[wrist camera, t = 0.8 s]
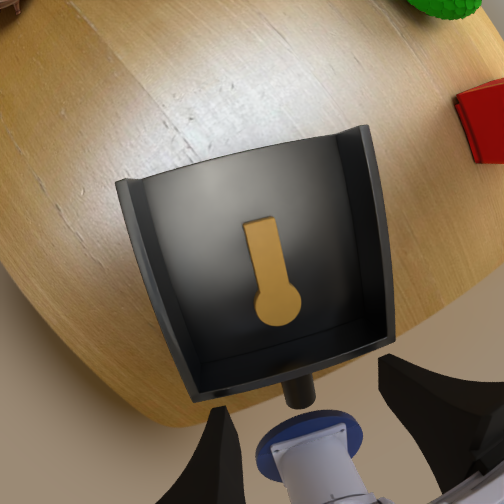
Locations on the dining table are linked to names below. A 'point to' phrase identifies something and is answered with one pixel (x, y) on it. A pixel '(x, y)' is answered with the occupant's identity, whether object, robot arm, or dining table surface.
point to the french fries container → (484, 120)
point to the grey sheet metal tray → (241, 270)
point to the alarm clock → (5, 0)
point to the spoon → (270, 274)
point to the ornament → (447, 8)
